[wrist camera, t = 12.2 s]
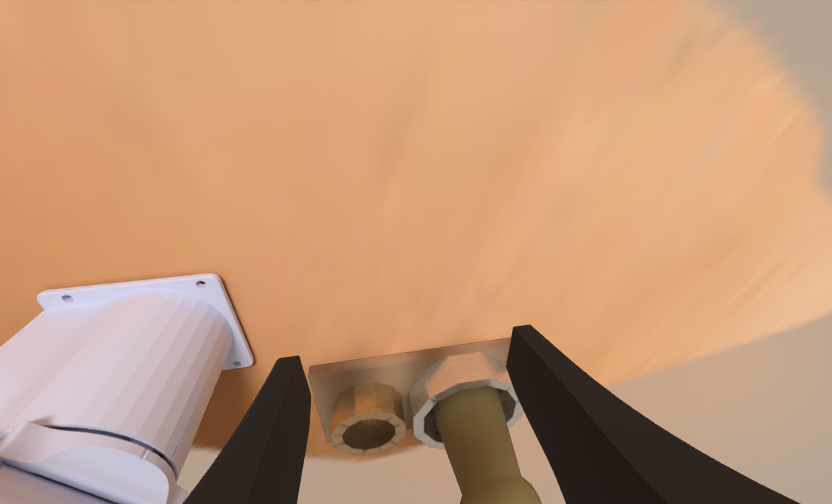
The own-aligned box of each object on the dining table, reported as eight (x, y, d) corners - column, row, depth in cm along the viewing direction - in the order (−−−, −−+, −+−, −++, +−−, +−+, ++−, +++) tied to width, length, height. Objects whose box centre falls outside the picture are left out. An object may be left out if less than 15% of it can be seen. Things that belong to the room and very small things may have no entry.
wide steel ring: (410, 428, 30) (414, 457, 28) (407, 362, 25) (412, 390, 23) (504, 412, 31) (515, 438, 29) (519, 345, 26) (533, 371, 24)
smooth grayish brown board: (328, 431, 30) (327, 442, 29) (309, 366, 25) (308, 377, 24) (505, 401, 32) (509, 411, 31) (518, 336, 27) (524, 345, 26)
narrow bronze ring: (338, 429, 28) (337, 460, 26) (328, 389, 25) (326, 419, 23) (402, 418, 29) (406, 447, 27) (400, 378, 26) (404, 407, 24)
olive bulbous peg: (495, 397, 30) (560, 555, 20) (431, 415, 29) (467, 582, 20) (492, 354, 26) (567, 518, 17) (419, 373, 26) (456, 550, 17)
